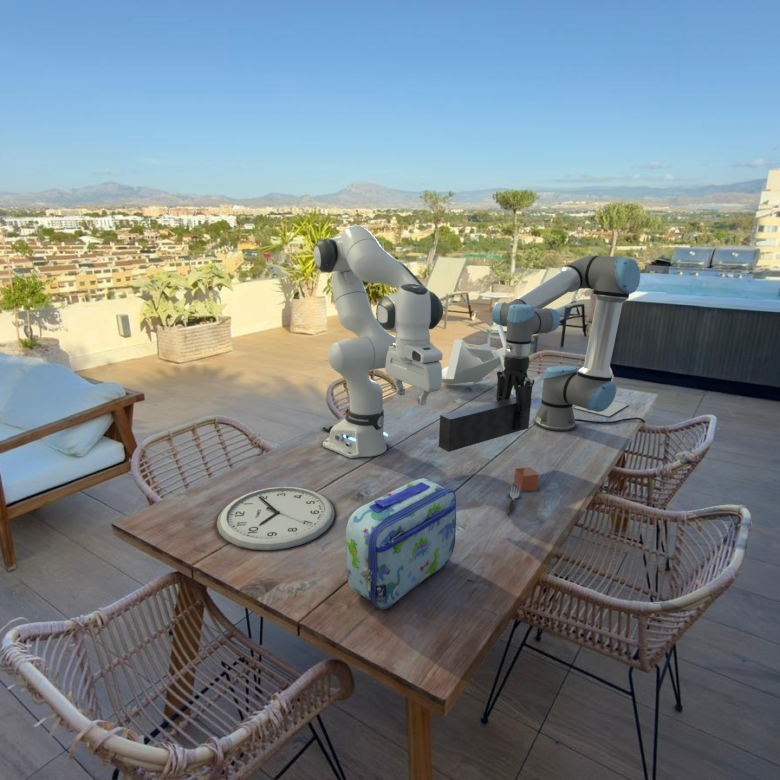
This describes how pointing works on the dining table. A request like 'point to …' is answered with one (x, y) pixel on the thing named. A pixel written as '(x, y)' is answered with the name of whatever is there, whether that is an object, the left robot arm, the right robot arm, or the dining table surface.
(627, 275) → the right robot arm
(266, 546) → the wall clock
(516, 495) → the fork
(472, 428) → the bar
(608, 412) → the invitation card
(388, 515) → the lunch box
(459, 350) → the white plastic object
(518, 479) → the terracotta block
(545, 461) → the dining table surface
